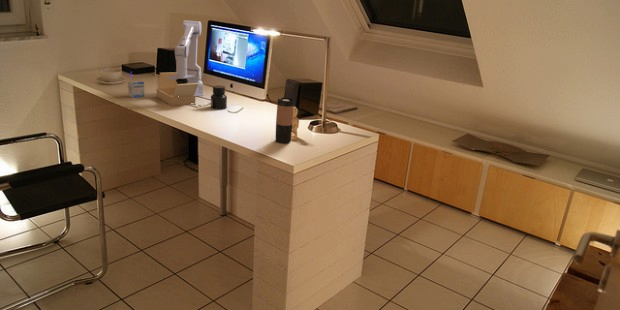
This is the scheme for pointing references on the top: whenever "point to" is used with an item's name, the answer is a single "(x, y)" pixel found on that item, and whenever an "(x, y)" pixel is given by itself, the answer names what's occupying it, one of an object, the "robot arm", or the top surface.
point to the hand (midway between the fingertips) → (181, 92)
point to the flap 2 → (185, 89)
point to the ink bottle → (218, 97)
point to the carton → (167, 97)
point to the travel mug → (284, 120)
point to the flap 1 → (167, 80)
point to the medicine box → (136, 89)
